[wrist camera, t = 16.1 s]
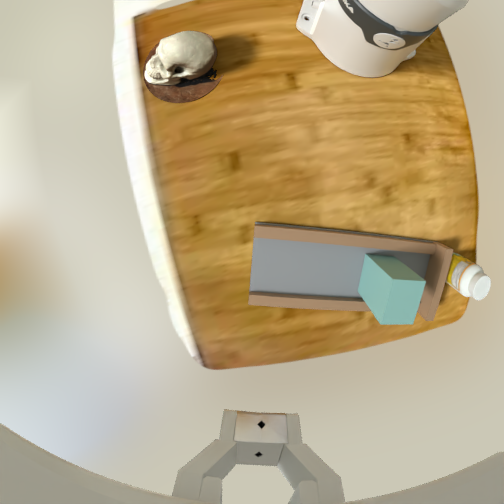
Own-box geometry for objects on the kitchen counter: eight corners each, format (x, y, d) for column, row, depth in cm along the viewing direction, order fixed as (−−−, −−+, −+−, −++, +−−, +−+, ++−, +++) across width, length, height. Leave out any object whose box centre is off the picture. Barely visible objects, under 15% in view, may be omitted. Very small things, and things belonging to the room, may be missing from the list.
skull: (145, 117, 34) (117, 59, 25) (159, 81, 39) (140, 31, 30) (229, 100, 33) (214, 33, 24) (231, 67, 38) (219, 12, 29)
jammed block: (365, 253, 40) (392, 279, 30) (394, 256, 40) (426, 281, 30) (357, 291, 41) (380, 324, 32) (385, 292, 41) (412, 324, 32)
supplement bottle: (433, 268, 40) (465, 291, 31) (452, 245, 39) (487, 263, 30) (446, 286, 41) (476, 310, 32) (464, 265, 40) (497, 285, 31)
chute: (255, 222, 39) (254, 228, 35) (438, 242, 39) (453, 249, 35) (248, 300, 43) (247, 315, 39) (421, 308, 43) (433, 320, 38)
